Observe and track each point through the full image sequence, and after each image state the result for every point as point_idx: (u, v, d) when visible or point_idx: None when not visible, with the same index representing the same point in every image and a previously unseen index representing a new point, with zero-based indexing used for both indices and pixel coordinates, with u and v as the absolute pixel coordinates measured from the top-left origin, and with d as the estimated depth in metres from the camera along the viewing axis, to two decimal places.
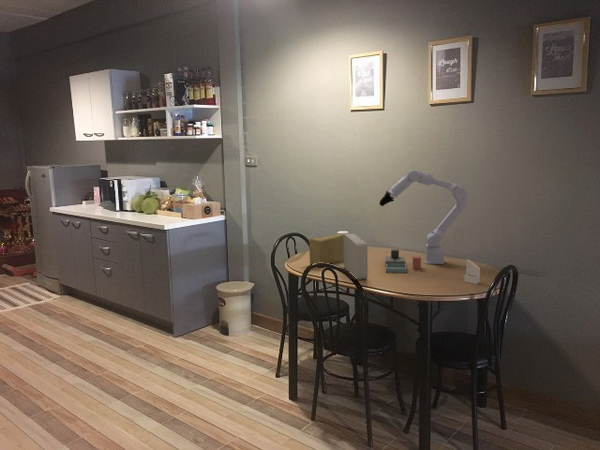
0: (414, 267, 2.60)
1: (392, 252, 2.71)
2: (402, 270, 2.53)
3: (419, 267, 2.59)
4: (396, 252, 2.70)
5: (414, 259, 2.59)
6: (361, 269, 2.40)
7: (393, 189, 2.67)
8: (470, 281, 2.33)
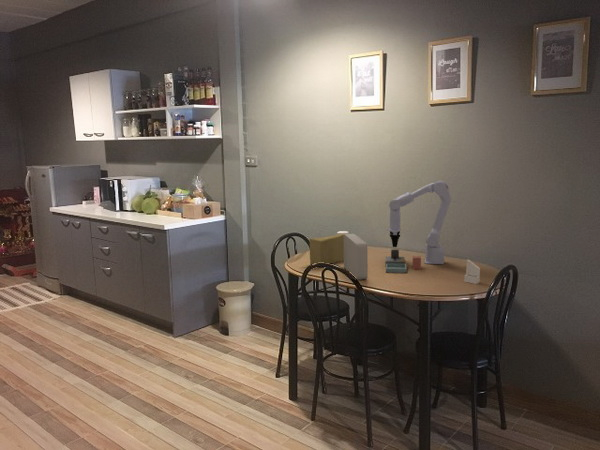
0: (414, 267, 2.60)
1: (392, 252, 2.71)
2: (402, 270, 2.53)
3: (419, 267, 2.59)
4: (396, 252, 2.70)
5: (414, 259, 2.59)
6: (361, 269, 2.40)
7: (392, 227, 2.74)
8: (470, 281, 2.33)
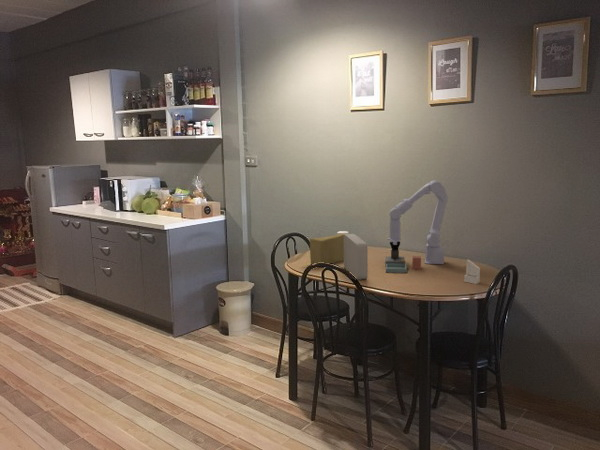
0: (414, 267, 2.60)
1: (392, 252, 2.70)
2: (402, 270, 2.53)
3: (419, 267, 2.59)
4: (396, 252, 2.70)
5: (414, 259, 2.59)
6: (361, 269, 2.40)
7: (392, 237, 2.71)
8: (470, 281, 2.33)
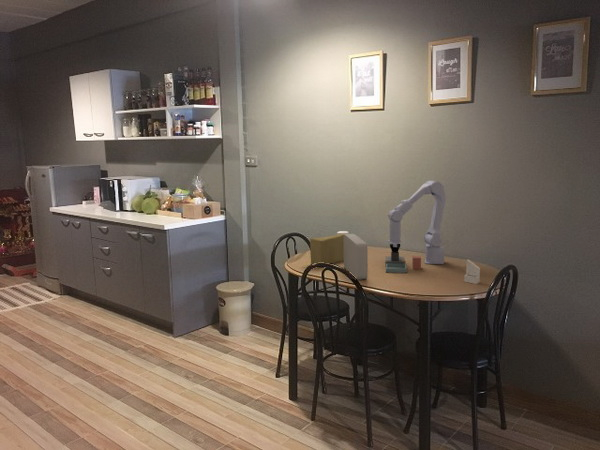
0: (414, 267, 2.60)
1: (392, 254, 2.65)
2: (402, 270, 2.53)
3: (419, 267, 2.59)
4: (396, 255, 2.64)
5: (414, 259, 2.59)
6: (361, 269, 2.40)
7: (392, 239, 2.65)
8: (470, 281, 2.33)
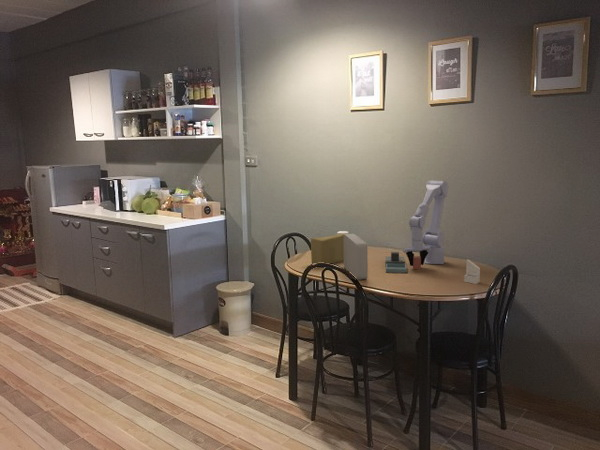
0: (414, 267, 2.59)
1: (392, 254, 2.65)
2: (402, 270, 2.53)
3: (419, 267, 2.59)
4: (396, 255, 2.65)
5: (414, 259, 2.59)
6: (361, 269, 2.40)
7: (411, 245, 2.60)
8: (470, 281, 2.33)
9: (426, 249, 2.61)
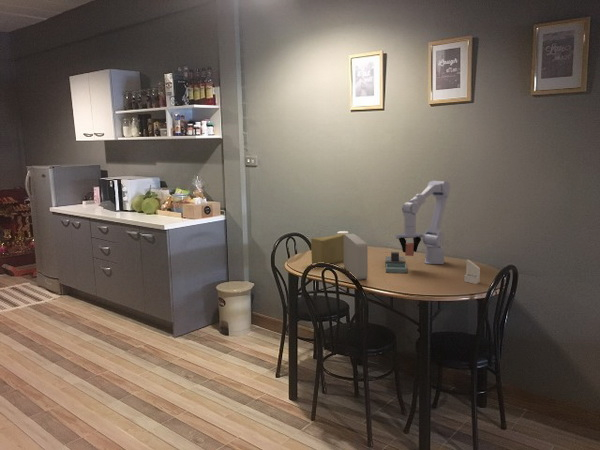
0: (407, 253, 2.57)
1: (392, 254, 2.65)
2: (402, 270, 2.53)
3: (412, 254, 2.57)
4: (396, 255, 2.65)
5: (407, 245, 2.57)
6: (361, 269, 2.40)
7: None
8: (470, 281, 2.33)
9: (419, 236, 2.58)
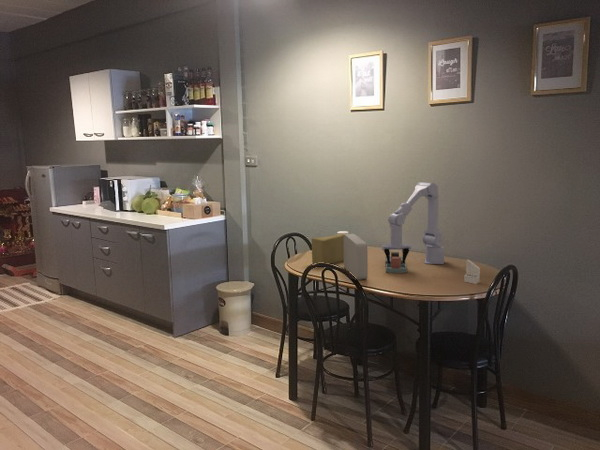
0: None
1: (392, 254, 2.65)
2: (402, 270, 2.53)
3: (397, 268, 2.56)
4: (396, 255, 2.65)
5: (392, 260, 2.56)
6: (361, 269, 2.40)
7: None
8: (470, 281, 2.33)
9: (406, 247, 2.57)
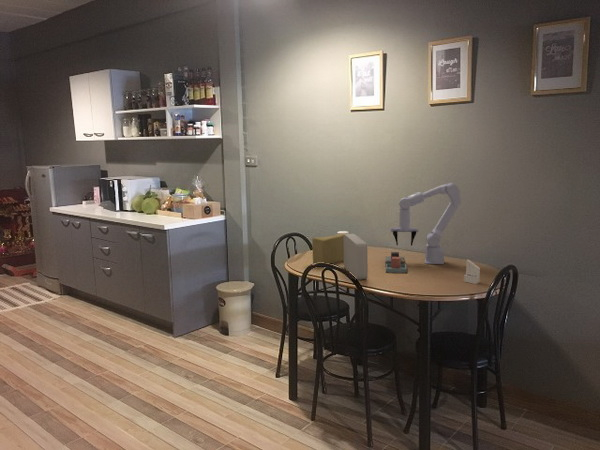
0: None
1: (392, 254, 2.65)
2: (402, 270, 2.53)
3: (397, 268, 2.56)
4: (396, 255, 2.65)
5: (392, 260, 2.56)
6: (361, 269, 2.40)
7: None
8: (470, 281, 2.33)
9: (414, 230, 2.71)
